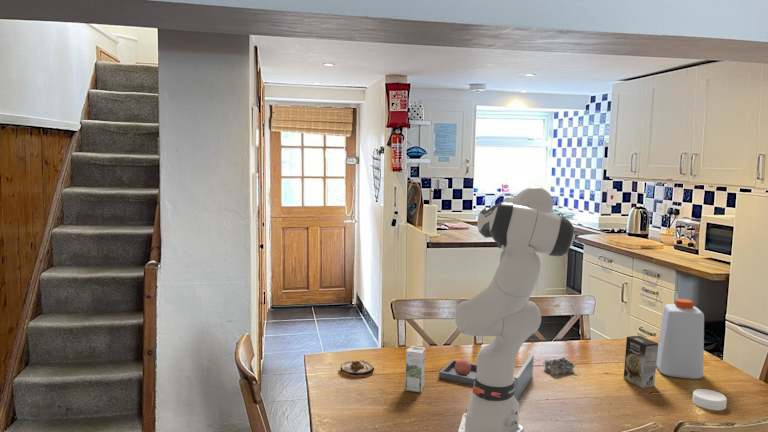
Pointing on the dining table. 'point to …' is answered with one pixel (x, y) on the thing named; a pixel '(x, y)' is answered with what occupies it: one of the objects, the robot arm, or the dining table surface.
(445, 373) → the charcoal tray
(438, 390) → the dining table surface
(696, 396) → the white round lid
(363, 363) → the dark rimmed plate
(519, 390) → the slate plastic wall
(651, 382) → the coffee box
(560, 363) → the egg carton
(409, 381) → the syrup box
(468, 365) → the rubber ball
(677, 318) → the plastic bottle
